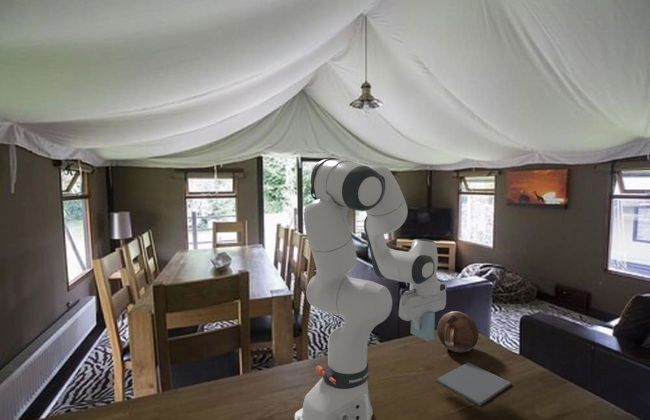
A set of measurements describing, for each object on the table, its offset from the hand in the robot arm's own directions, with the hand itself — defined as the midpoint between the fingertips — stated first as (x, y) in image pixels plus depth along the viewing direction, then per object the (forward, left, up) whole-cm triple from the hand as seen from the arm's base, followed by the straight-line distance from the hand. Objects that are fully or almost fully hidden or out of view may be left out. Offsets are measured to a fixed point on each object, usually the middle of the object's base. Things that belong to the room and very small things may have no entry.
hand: (422, 326), depth 112 cm
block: (0, 0, -3) cm, 3 cm away
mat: (+10, -13, -17) cm, 23 cm away
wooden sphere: (+25, +3, -17) cm, 30 cm away
